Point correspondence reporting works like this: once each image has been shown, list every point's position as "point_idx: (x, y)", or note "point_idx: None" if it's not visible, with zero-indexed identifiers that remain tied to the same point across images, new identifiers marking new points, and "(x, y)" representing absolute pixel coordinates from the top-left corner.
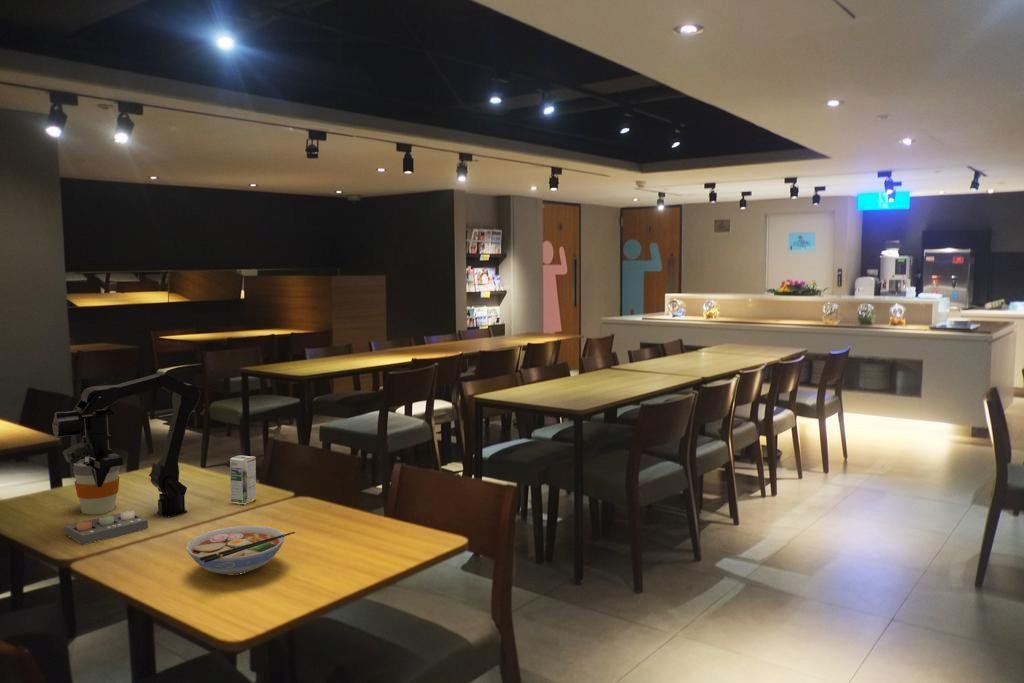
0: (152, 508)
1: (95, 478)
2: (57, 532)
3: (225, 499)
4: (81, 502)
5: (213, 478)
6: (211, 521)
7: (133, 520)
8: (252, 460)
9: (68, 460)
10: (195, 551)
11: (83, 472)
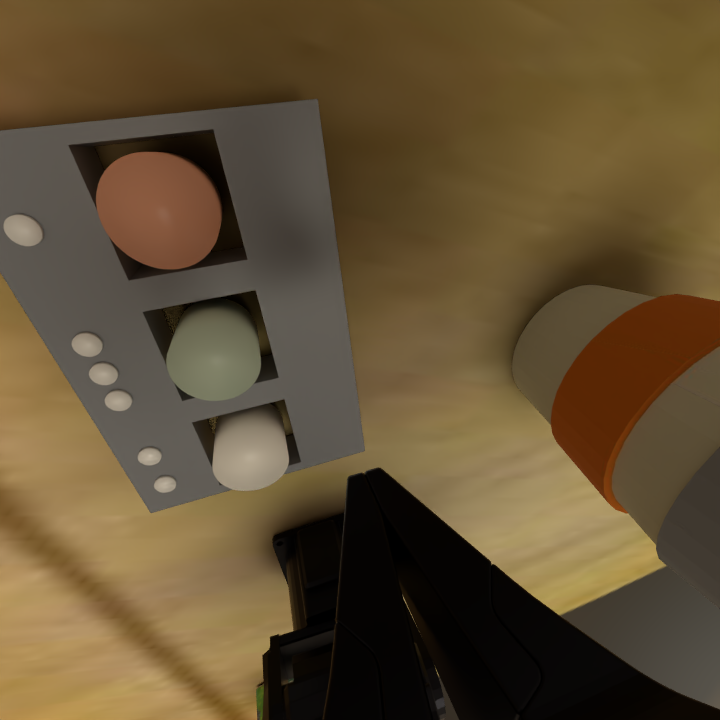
0: (427, 496)
1: (384, 567)
2: (388, 80)
3: None
4: (625, 298)
5: (551, 606)
6: (129, 641)
7: (179, 462)
8: None
9: None
10: None
11: None
